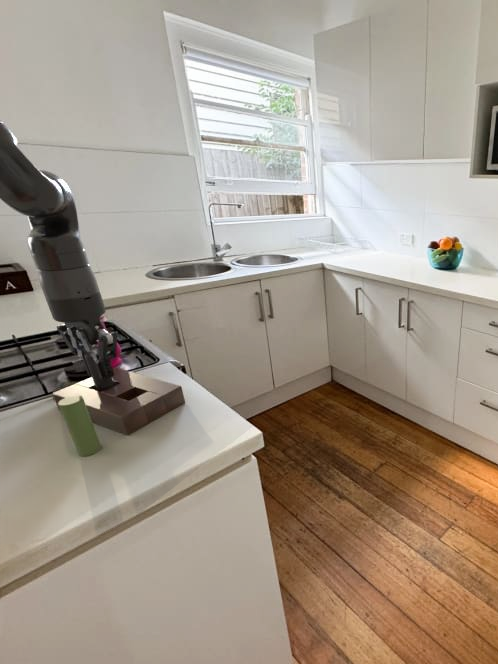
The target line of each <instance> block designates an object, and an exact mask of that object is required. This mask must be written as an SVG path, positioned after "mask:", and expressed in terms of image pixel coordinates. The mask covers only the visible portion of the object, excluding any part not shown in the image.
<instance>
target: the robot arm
mask: <svg viewBox="0 0 498 664" xmlns="http://www.w3.org/2000/svg"><path fill="white" fill-rule="evenodd" d="M0 200H1V201H2V202H3V203H4V204H5V205H6V206H8V207H9V208H11V209H12V210H13V211H15V212H17V213H19V214H21V215H24V216H26V217H27V220H28V225H29V229H30V232H29V234H28V236H27V237H26V243H27V247H28V250H29V253H30V254H31V258H32V261H33V263H34V266H35V268H36V272H37V277H38V281H39V285H40V288H41V290H42V294H43V295H44V298H45V301H46V303H47V307H48V308H49V312H50V314H51V317H52V320H54V321H56V322H58V323H63V324H60V325H57V326H56V329H57V331H58V333H59V334H60V335H61V338H62V339H63V341H64V342H65V344H66V346H67V347H68V348H69V350H70V352H71V353H72V354H73V355H77V356H78V358H79V359H80V360H82V361H83V365H84V368H85V370H86V373H87V375H88V376H90V377H92V376H91V373H90V371H89V368H88V365H87V362H86V359H85V357H84V355H85V354H86V353H88V352H90V353H91V355H92V357H93V359H94V361H95V365H96V368H97V371H98V374H99V376H100V379H103V380H106V379H108V378H111V377H113V376H114V371H113V368H112V365H111V362H110V359H112V358H116V357H117V343H118V335H117V333H116V332H114V331H112V332H109V331H108V332H106V331H105V328H104V326H103V324H102V322H101V320H100V317H101V315H103V314H104V315H105V314H106V307H105V303H104V300H103V297H102V294H101V291H100V287H99V284H98V281H97V278H96V276H95V273H94V271H93V269H92V267H91V265H90V261H89V257H88V255H87V252H86V250H85V247H84V244H83V242H82V239H81V234H80V223H79V218H78V210H77V205H76V202H75V201H76V200H75V198H74V195H73V192H72V191H71V189H70V187H69V185H68V184H67V183H66V182H65V180H63V179H62V178H61V177H59V176H58V175H57V174H55V173H53V172H51V171H48V170H45V169H38V168H37V166H35V165H34V164H33V162H32V161H31V160H30V159H29V158H28V157H27V156H26V155H25V154H24V152H23V151H22V150H21V148H19V141H18V139H17V137H16V136H15V134H14V133H13V132H12V131H11V130H10V129H9V127H8V126H7V125H6V124H4V122H3V121H2V120H1V119H0ZM98 343H99V345H97V346H95V344H98ZM98 350H99V356H98V353H97V351H98ZM109 351H110V352H109Z"/></svg>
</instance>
